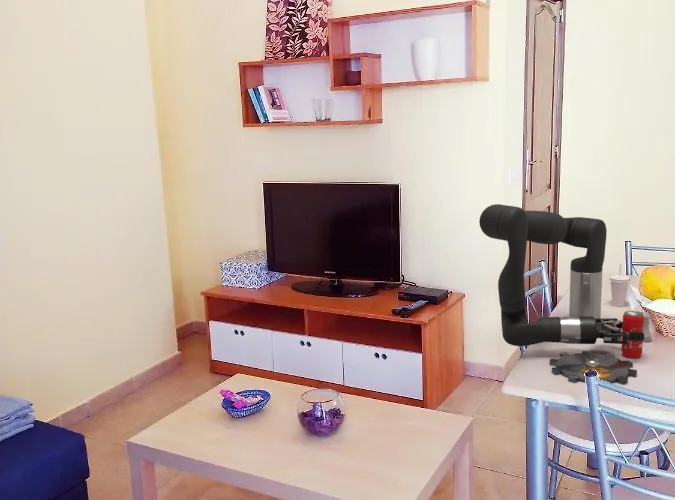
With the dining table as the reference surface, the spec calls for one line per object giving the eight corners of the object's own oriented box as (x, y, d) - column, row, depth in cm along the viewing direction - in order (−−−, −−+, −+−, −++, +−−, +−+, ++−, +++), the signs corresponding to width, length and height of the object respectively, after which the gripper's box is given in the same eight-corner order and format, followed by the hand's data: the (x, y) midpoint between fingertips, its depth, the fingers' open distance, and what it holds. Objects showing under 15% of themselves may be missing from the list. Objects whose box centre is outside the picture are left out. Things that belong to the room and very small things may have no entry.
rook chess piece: (648, 337, 199) (650, 310, 197) (654, 342, 194) (655, 315, 192) (632, 337, 199) (634, 311, 197) (637, 342, 195) (639, 315, 193)
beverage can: (632, 360, 182) (635, 317, 179) (617, 354, 186) (618, 312, 184) (646, 356, 184) (648, 314, 182) (630, 350, 189) (632, 309, 186)
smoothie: (630, 303, 230) (632, 263, 227) (626, 308, 225) (628, 267, 222) (610, 301, 234) (612, 261, 231) (606, 306, 228) (608, 265, 225)
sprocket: (546, 354, 189) (546, 345, 189) (625, 355, 185) (626, 346, 185) (555, 384, 169) (555, 375, 168) (644, 387, 165) (645, 377, 164)
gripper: (581, 325, 179) (647, 326, 176) (573, 309, 193) (634, 309, 189) (580, 352, 180) (645, 353, 177) (572, 334, 194) (633, 335, 191)
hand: (640, 331), depth 183 cm, fingers open, 8 cm apart
